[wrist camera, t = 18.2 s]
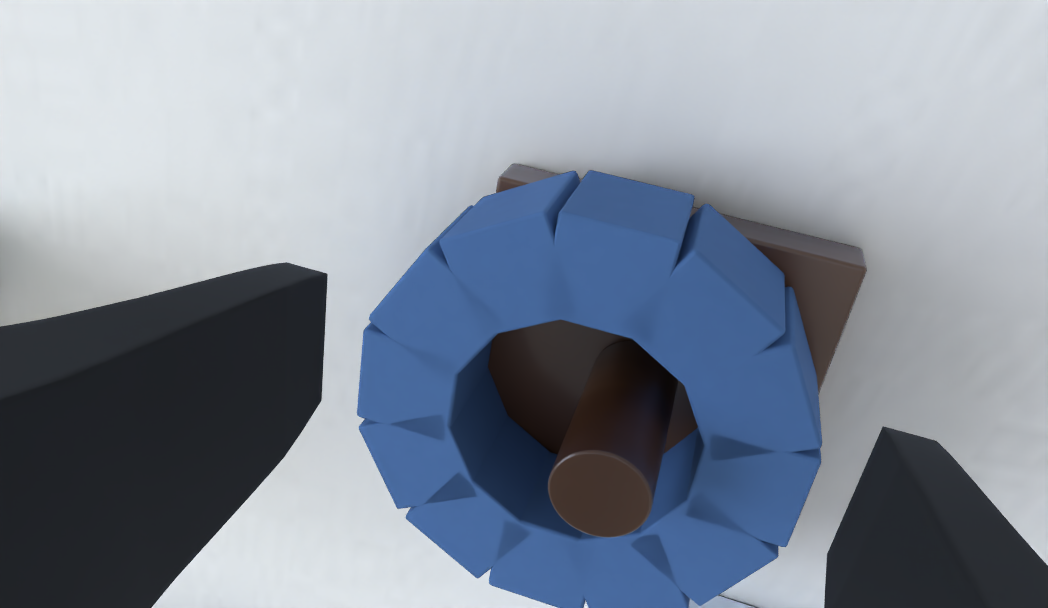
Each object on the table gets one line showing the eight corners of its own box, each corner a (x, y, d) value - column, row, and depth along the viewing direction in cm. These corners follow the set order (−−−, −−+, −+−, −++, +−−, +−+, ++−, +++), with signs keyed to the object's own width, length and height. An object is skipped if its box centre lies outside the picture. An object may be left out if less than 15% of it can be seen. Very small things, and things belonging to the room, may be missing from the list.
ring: (875, 237, 17) (891, 294, 14) (742, 581, 21) (737, 669, 19) (428, 129, 18) (374, 164, 16) (391, 470, 23) (345, 538, 20)
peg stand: (863, 247, 18) (895, 377, 13) (757, 524, 22) (751, 707, 17) (512, 161, 19) (421, 250, 14) (468, 436, 23) (384, 582, 18)
